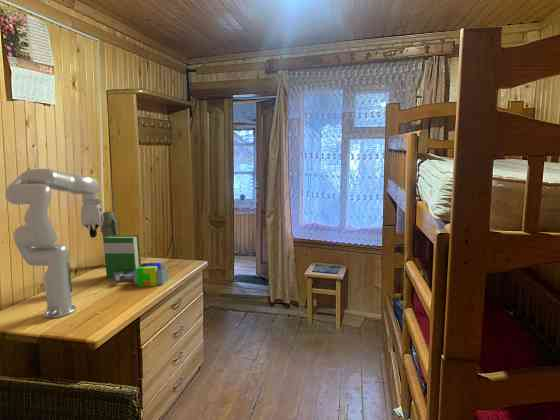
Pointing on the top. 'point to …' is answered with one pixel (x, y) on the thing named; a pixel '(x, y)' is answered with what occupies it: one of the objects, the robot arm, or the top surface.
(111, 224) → the stone tower
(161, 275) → the vise body
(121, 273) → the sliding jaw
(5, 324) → the top surface
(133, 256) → the hardback book
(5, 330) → the top surface
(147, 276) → the puzzle toy
